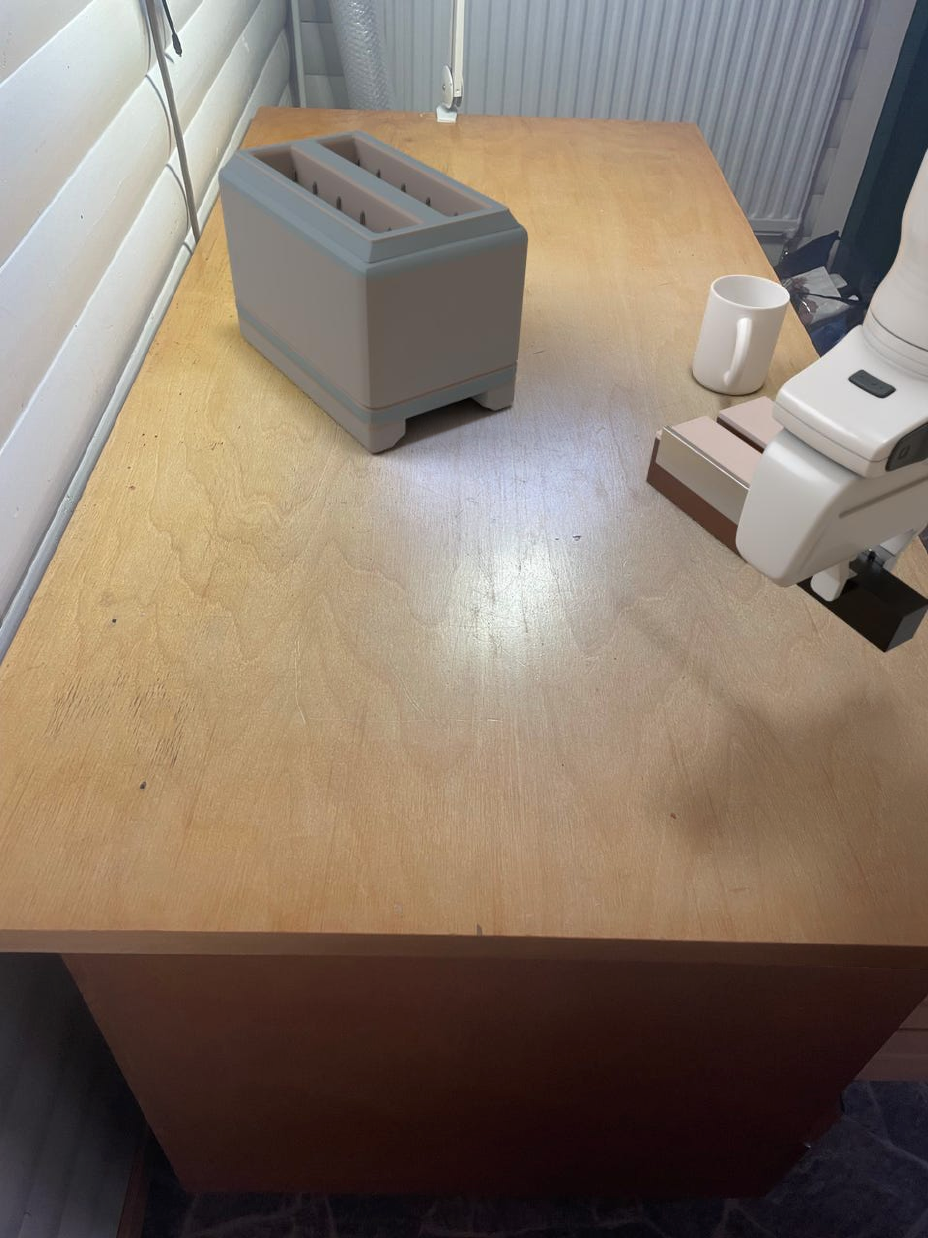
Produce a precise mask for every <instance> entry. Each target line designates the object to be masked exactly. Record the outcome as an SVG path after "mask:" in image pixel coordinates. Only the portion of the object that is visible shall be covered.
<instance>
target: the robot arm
mask: <svg viewBox="0 0 928 1238" xmlns="http://www.w3.org/2000/svg"><path fill="white" fill-rule="evenodd" d="M904 207H905V208H904V210H903V214H902V219H901V231H900V232H901V233H900V234H901V235H900V242H899V246H898V250H897V254H896V257H895V258H894V262H893V264H892V266H891V267H890V269H889V270H888V272H887V273H886V275H885V276H884V278H883V279H882V280H881V281H880V283H879V284H878V286H877V288H876V290H875V291H874V293H873V296H872V298H871V300H870V304H869V307H868V309H867V312H866V314H865V317H864V320H863V323H862V324H858V325H856V326H855V327H853V328H852V329H851V330H850V331H849V332H848V333H846V335H844V337H843V338H842V339H841V340H840V341H839V342H837V343H836V345H834V346H833V347H832V348H831V349H829V350H828V351H827V352H826V353H825V354H823V355H822V356H821V357H820V358H818V359H817V360H816V361H814V362H813V363H811V364H809V365H808V366H807V367H806V368H804V369H802V370H801V371H799V372H798V373H797V374H795V375H794V376H792V377H791V378H789V379H788V380H787V381H786V382H785V383H783V385H781V387H780V388H779V389H778V392H777V394H776V397H775V399H774V406H773V410H772V417H773V418H774V419H775V420H776V421H777V422H778V423H780V424H781V425H782V426H783V427H784V428H782V429H781V430H780V431H779V432H778V433H777V434H776V435H775V436H774V437H773V438H772V439H771V441H770V442H769V444H768V445H767V447H766V448H765V450H764V452H763V454H762V456H761V458H760V460H759V462H758V465H757V467H756V470H755V473H754V475H753V478H752V481H751V484H750V487H749V490H748V493H747V497H746V500H745V503H744V507H743V510H742V514H741V517H740V521H739V525H738V529H737V534H736V546H737V549H738V551H739V552H740V554H741V556H742V557H743V558H744V559H745V560H746V561H747V562H746V561H745V560H744V561H745V562H746V563H748V564H749V566H751V567H752V568H753V569H754V570H756V571H757V572H758V573H759V574H761V575H762V576H763V577H765V578H766V579H767V580H769V581H770V582H772V583H773V584H774V585H776V586H777V587H780V588H789V587H792V586H794V585H796V584H797V583H798V582H800V581H803V580H805V579H807V578H809V577H811V576H813V578H812V580H811V587H812V589H813V591H815V592H816V593H817V594H819V595H820V596H821V597H822V598H824V599H825V600H827V601H833V600H835V599H836V598H838V597H840V596H842V595H844V594H846V593H848V592H849V590H850V588H851V585H852V584H853V582H854V580H855V578H856V576H857V574H856V573H855V572H854V571H852V570H851V569H850V568H849V562H850V561H853V560H855V559H856V558H857V556H858V554H860V553H864V554H865V555H866V556H868V557H869V558H871V559H872V560H873V561H875V562H876V563H878V564H879V565H880V566H882V567H883V568H885V569H886V570H887V571H889V572H890V573H892V572H893V571H894V569H895V568H896V566H897V563H898V561H899V560H900V557H901V555H902V554H903V553H904V552H905V551H906V549H907V548H908V547H910V545H911V544H912V543H913V542H914V541H915V540H916V539H917V538H918V536H919V535H920V534H921V533H922V532H923V531H924V530H925V529H926V527H927V526H928V148H927V149H926V151H925V154H924V156H923V159H922V161H921V163H920V166H919V169H918V171H917V174H916V177H915V179H914V182H913V185H912V187H911V190H910V192H909V195H908V198H907V201H906V203H905V206H904Z"/></svg>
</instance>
